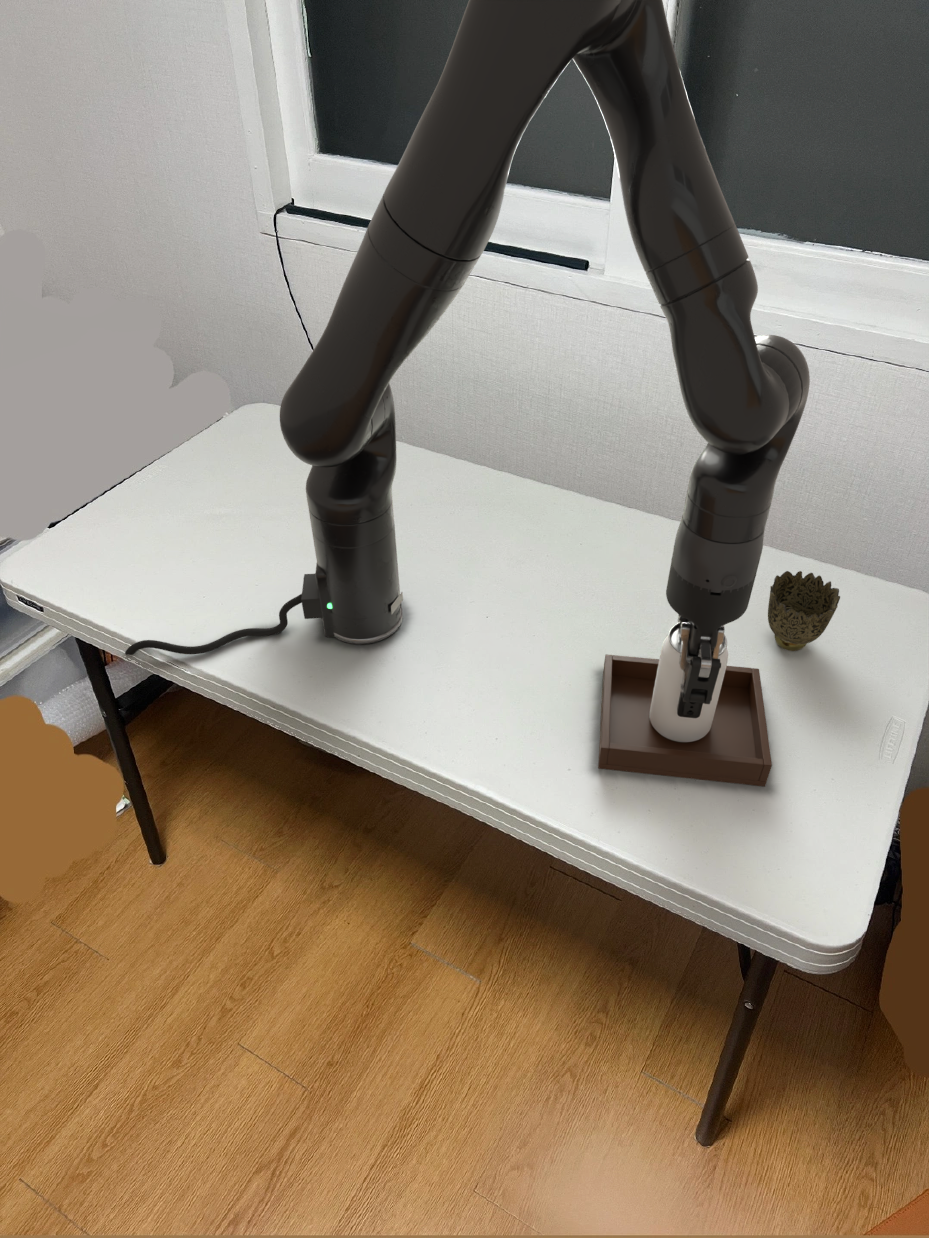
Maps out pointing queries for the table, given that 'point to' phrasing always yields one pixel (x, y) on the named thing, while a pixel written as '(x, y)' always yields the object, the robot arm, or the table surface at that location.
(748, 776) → the tray
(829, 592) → the cup
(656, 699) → the can
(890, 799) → the table surface
